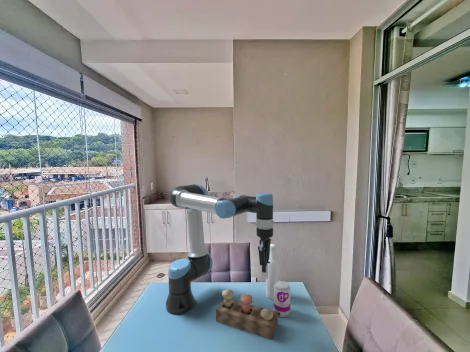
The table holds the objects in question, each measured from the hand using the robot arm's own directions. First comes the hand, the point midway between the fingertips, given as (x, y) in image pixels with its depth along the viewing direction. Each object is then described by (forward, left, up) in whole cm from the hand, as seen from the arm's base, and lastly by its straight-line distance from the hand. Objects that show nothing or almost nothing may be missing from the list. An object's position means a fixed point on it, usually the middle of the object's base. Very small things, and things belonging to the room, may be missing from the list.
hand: (264, 277), depth 100 cm
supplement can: (+5, +14, -24) cm, 29 cm away
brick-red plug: (-9, 0, -18) cm, 20 cm away
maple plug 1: (-19, 0, -18) cm, 26 cm away
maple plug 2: (+1, 0, -23) cm, 23 cm away
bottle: (-3, +26, -24) cm, 36 cm away
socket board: (-9, 0, -24) cm, 26 cm away
